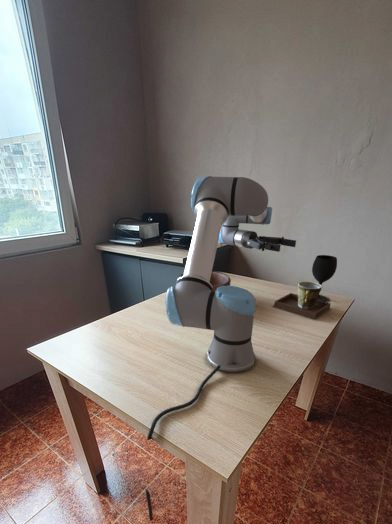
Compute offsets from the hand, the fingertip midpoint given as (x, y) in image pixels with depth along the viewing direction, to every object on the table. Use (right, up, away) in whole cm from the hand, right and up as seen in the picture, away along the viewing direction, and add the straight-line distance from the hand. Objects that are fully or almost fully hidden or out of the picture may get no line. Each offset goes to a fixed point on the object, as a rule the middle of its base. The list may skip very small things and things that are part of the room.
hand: (287, 246), depth 123 cm
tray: (+9, -25, +9) cm, 28 cm away
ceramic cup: (+10, -25, +8) cm, 28 cm away
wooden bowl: (-36, -20, +17) cm, 44 cm away
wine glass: (+21, -19, +20) cm, 34 cm away
